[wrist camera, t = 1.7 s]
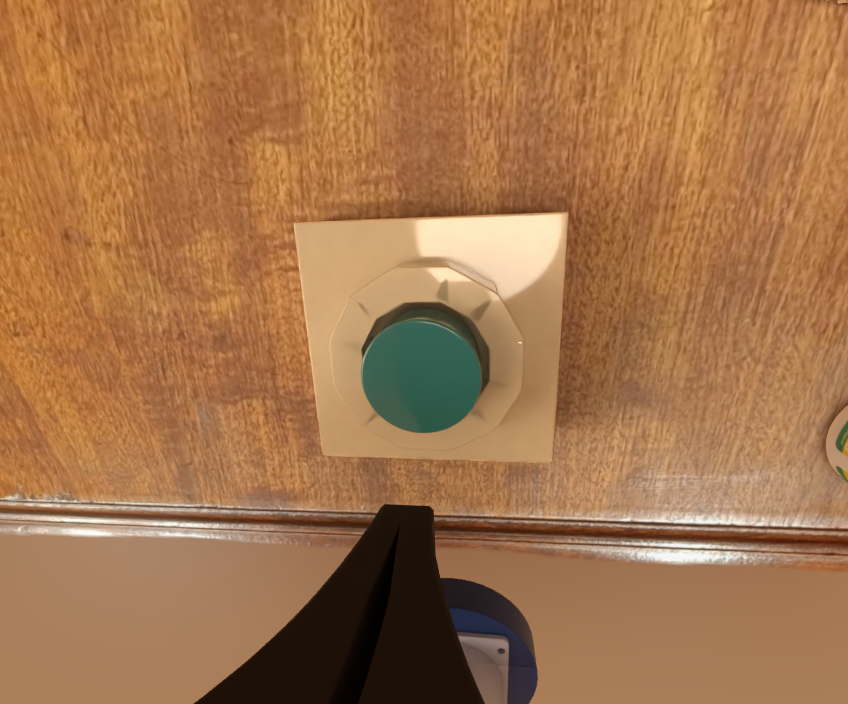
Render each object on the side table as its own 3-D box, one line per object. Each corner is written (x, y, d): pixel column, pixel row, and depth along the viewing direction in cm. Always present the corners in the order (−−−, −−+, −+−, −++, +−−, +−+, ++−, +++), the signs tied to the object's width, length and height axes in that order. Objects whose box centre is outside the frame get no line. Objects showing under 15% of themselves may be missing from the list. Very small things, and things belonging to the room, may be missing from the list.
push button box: (541, 427, 21) (561, 490, 16) (342, 423, 22) (306, 481, 17) (553, 211, 18) (581, 211, 13) (321, 220, 19) (270, 223, 14)
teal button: (481, 412, 16) (482, 435, 14) (376, 410, 16) (365, 433, 15) (481, 306, 15) (482, 318, 13) (368, 308, 15) (355, 320, 14)
